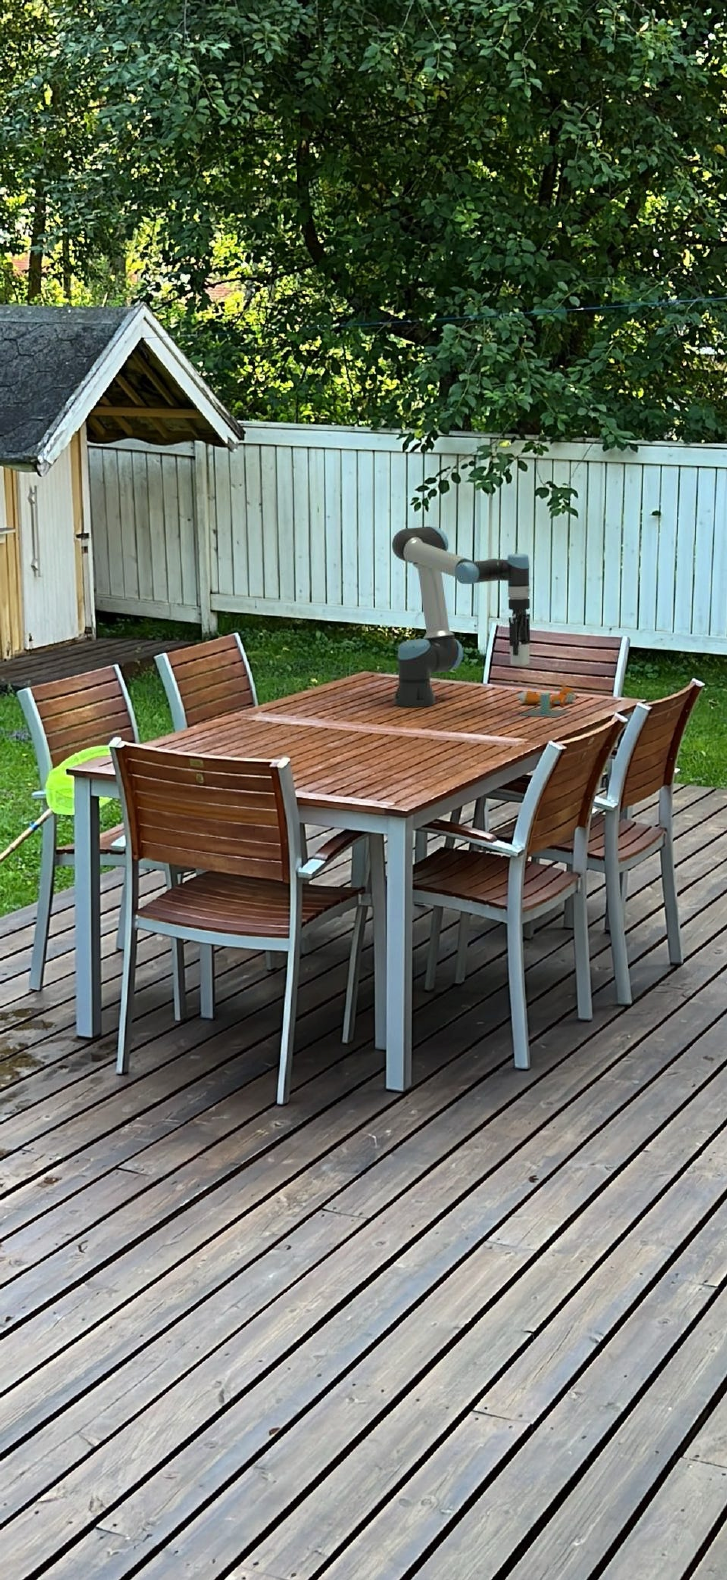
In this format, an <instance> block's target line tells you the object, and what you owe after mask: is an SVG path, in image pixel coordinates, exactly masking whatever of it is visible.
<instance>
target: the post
mask: <svg viewBox="0 0 727 1580" xmlns="http://www.w3.org/2000/svg"><path fill="white" fill-rule="evenodd" d="M539 696H540V703H539V704H540V705H539V706H540V708H539V709H540V713H550V710H551V707H550V697H551V694H550V693H546V692H545V693H540V695H539Z"/></svg>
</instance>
